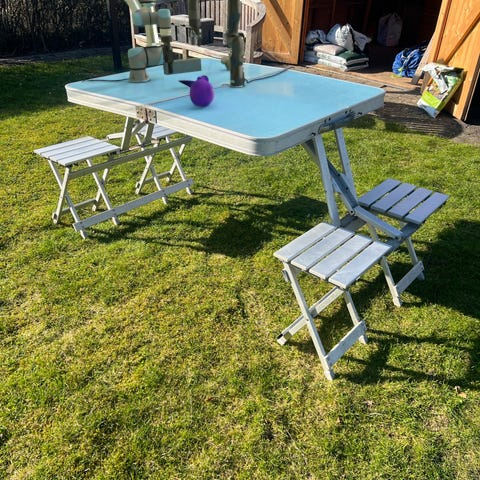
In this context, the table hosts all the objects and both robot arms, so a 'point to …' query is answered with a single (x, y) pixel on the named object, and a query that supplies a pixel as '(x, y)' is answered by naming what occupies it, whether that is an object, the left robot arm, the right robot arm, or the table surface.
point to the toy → (200, 91)
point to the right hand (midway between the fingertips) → (196, 45)
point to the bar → (183, 66)
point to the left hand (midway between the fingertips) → (169, 72)
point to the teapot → (227, 60)
